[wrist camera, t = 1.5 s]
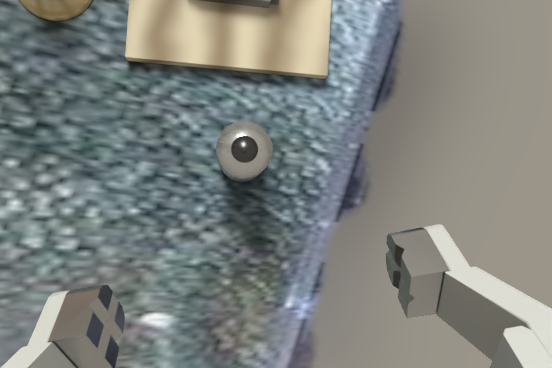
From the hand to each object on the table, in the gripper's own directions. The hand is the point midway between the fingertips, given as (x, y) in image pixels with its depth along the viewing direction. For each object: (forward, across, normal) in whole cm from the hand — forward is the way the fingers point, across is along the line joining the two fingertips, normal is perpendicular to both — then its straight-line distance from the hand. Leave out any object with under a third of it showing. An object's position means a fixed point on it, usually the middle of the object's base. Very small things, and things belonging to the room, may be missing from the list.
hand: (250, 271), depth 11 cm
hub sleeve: (+29, +2, +15) cm, 33 cm away
